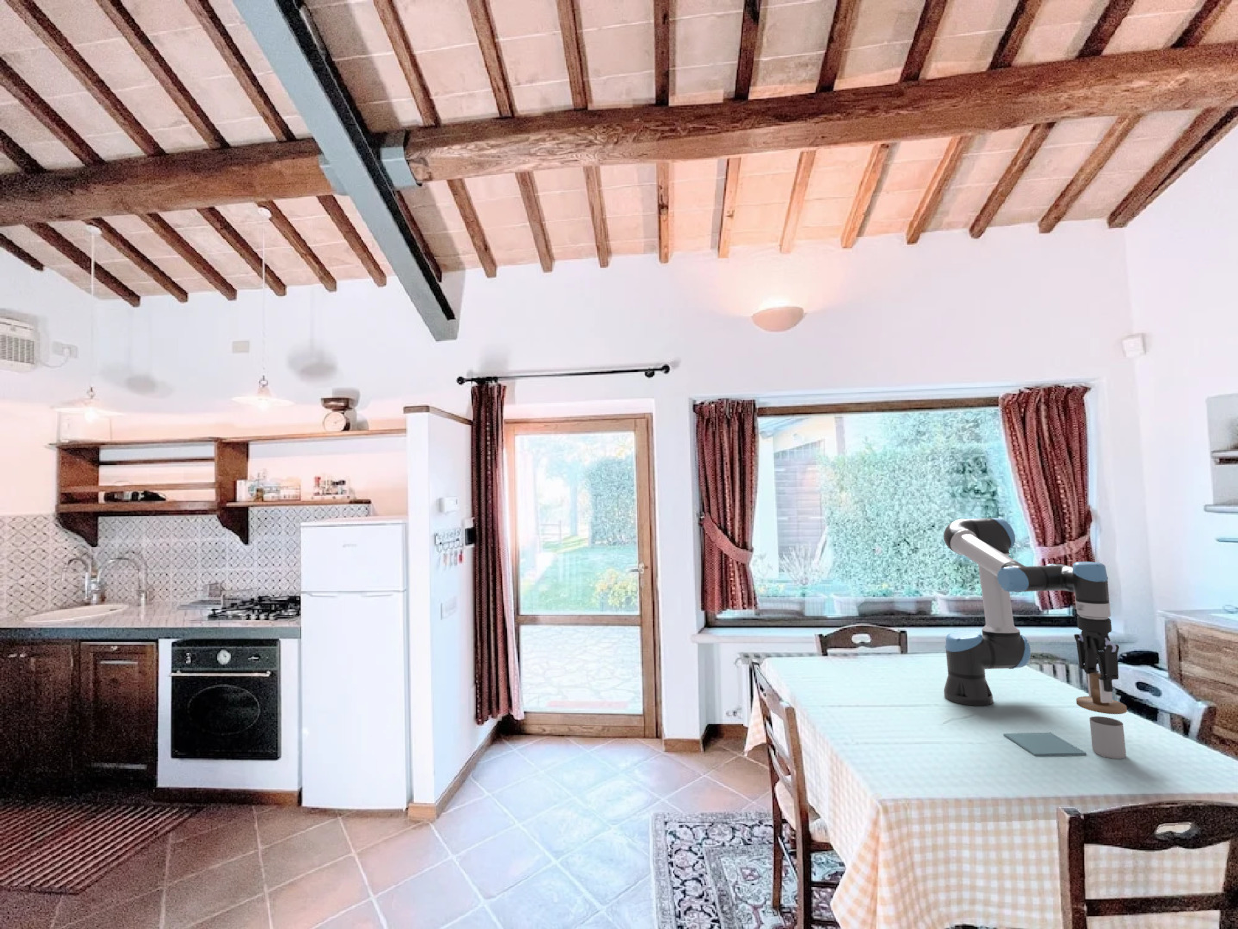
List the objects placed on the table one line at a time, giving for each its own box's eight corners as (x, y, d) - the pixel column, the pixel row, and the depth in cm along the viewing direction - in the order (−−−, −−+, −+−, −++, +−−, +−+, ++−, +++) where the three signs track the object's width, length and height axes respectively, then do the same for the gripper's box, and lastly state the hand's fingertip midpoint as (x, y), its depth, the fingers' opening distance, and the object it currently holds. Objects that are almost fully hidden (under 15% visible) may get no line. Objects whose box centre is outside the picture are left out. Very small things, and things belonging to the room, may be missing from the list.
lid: (1067, 700, 167) (1064, 669, 168) (1105, 699, 167) (1102, 668, 167) (1096, 714, 156) (1093, 681, 157) (1137, 713, 156) (1134, 680, 156)
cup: (1100, 758, 156) (1097, 725, 157) (1082, 743, 166) (1079, 712, 167) (1132, 760, 154) (1128, 727, 155) (1112, 745, 164) (1109, 713, 165)
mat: (1003, 735, 173) (1003, 733, 173) (1050, 734, 172) (1050, 732, 172) (1034, 756, 159) (1034, 753, 159) (1086, 755, 159) (1086, 752, 159)
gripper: (1059, 611, 171) (1065, 690, 170) (1103, 623, 155) (1110, 711, 153) (1084, 610, 171) (1091, 689, 170) (1131, 622, 154) (1139, 710, 153)
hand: (1100, 699), depth 161 cm, fingers closed on lid, 3 cm apart
